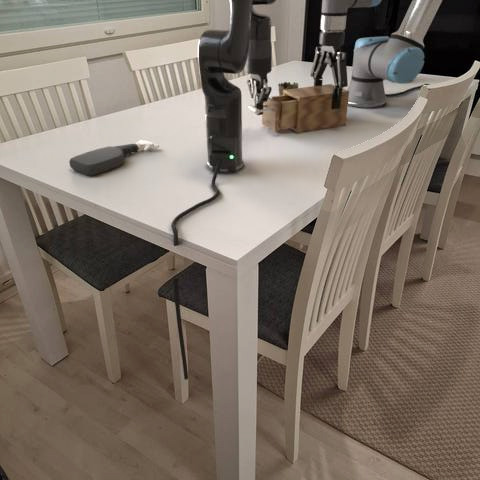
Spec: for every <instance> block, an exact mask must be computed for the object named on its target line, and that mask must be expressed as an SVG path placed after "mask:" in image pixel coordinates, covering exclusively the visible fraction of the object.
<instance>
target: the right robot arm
mask: <svg viewBox="0 0 480 480" xmlns="http://www.w3.org/2000/svg"><path fill="white" fill-rule="evenodd" d="M321 1H322V2H321V14H320V26H319V29H320V30H321V31H320V32H319V41H318V44H319V45H320V46H316V47H315V52H314V53H315V55H314V58H313V62H312V66H311V69H310V73H309V74H310V77H311V78H312V79H313V86H320V85H323V81H324V80H323V79H324V78H323V76H324V73H325V72H326V69H327V67H328V65H329V67H330V69H331V73H332V78H333V82H334V85H335V87H333V98H332V108H331V109H339V108H340V103H341V97H342V89H344V88H347V87H348V88H347V90H348V91H349V98H348V106H350V107H354V108H362V109H374V108H380V107H383V106H384V105H386V100H387V99H386V98H388V97H389V98H391V97H397V96H402V95H405V94H407V93H409V92H412V91H415V90H419V89H422V88H421V87H422V86H423V85H430V84H429V83H424V84H421V85H418V86H414V87H410V88H408V89H405V90H404V91H401V92H395V93H386V92H385V86H384V85H385V84H384V80H385V81H389V82H391V83H392V84H393V83H394V84H407V83H409V82H411V81H414V79H416V77H417V76H418V75H419V74H420V73H421V71H422V69H423V67H424V64H425V60H424V59H425V53H424V49H425V44H424V38H425V36H426V35H427V32H428V30H429V28H430V27H431V24H432V22H433V20H434V19H435V17H436V14H437V12H438V10H439V8H440V6H441V5H442V2H443V0H412V1H411V3H410V5H409V7H408V9H407V11H406V13H405V16H404V18H403V20H402V22H401V24H400V26H399V28H398V30H397V31H395V32H392V33H391V35H390V36H385V35H384V36H370V37H361V38H358V39H357V40H356V41H355V44H354V49H353V58H352V70H351V79H350V82H348V81H349V80H348V68H347V57H348V52H346V51H344V52H343V51H341V47H342V46H344V44H345V35H346V32H345V30H346V27H347V15H348V9H356V8H373V7H377V6H378V5H380V4H381V2H382V0H321Z"/></svg>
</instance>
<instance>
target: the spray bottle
mask: <svg viewBox="0 0 480 480" xmlns="http://www.w3.org/2000/svg"><path fill="white" fill-rule="evenodd" d="M159 148H160V145H159V144H158V143H155V142H151V141H148V140H144V139H139V140H138V141H137V142H135V143H129V144H128V143H126V144H122V145H113V146H105V147H100V148H97V149H94V150H90V151H87V152H83V153H81V154H78V155H74V156H73V157H70V159H69V161H68V162H69V167H70V168H71V169H72V170H74V171H75V172H78V173H81V174H83V175H85V176H89V177H90V176H91V177H92V176H95V175H99V174H102V173H105V172H107V171H110V170H113V169H116V168H118V167H120V166H122V165H123V164H124V163H125V158H126V156H127V155H131V154H133V153H138V151H140V150H143V151H144V152H146V151H147V150H149V149H159Z"/></svg>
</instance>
